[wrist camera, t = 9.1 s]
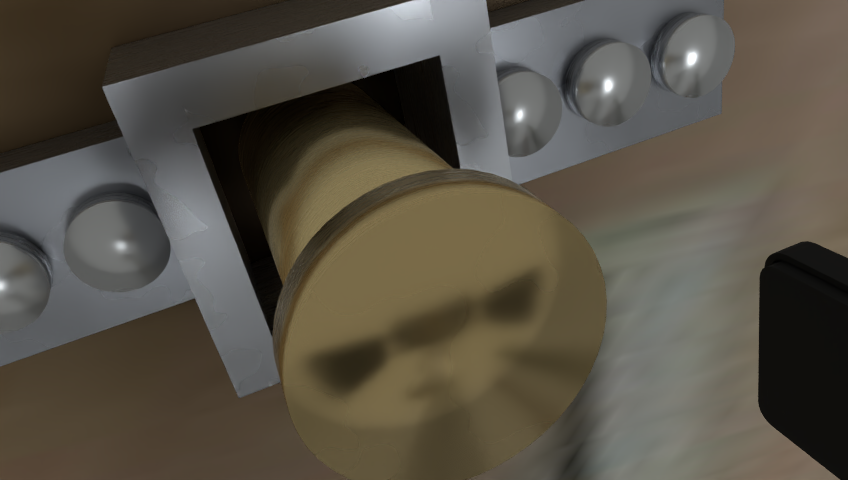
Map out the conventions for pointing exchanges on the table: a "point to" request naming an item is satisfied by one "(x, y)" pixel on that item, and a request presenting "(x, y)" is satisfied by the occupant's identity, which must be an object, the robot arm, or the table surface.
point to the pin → (413, 294)
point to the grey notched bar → (301, 75)
